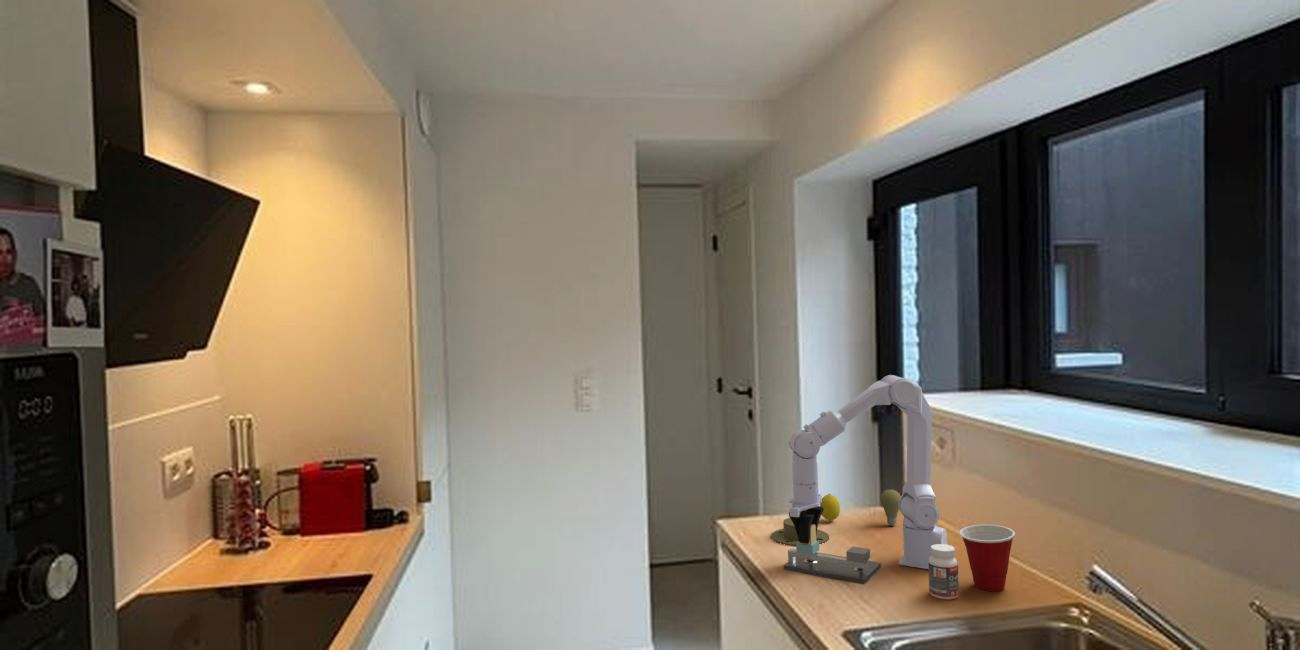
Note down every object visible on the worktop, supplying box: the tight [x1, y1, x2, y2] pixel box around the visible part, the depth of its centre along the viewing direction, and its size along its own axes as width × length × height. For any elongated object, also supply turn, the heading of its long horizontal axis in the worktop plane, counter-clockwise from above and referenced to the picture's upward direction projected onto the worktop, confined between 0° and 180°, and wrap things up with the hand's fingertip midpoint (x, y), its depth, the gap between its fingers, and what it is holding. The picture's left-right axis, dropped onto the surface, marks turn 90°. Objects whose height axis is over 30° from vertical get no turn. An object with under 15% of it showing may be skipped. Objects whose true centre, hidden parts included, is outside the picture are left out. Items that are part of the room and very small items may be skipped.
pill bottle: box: [928, 544, 960, 600], centre depth 150 cm, size 6×6×10 cm
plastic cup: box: [959, 524, 1016, 592], centre depth 154 cm, size 11×11×12 cm
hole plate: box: [783, 551, 882, 585], centre depth 168 cm, size 19×12×1 cm, turn 56°
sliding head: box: [795, 524, 820, 561], centre depth 169 cm, size 4×4×9 cm
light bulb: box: [879, 488, 902, 527], centre depth 199 cm, size 6×6×10 cm
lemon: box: [819, 493, 841, 523], centre depth 205 cm, size 6×6×8 cm
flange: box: [770, 517, 830, 547], centre depth 192 cm, size 5×15×15 cm
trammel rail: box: [787, 546, 871, 575], centre depth 166 cm, size 19×4×5 cm, turn 56°
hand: (807, 540), depth 169 cm, fingers open, 4 cm apart
